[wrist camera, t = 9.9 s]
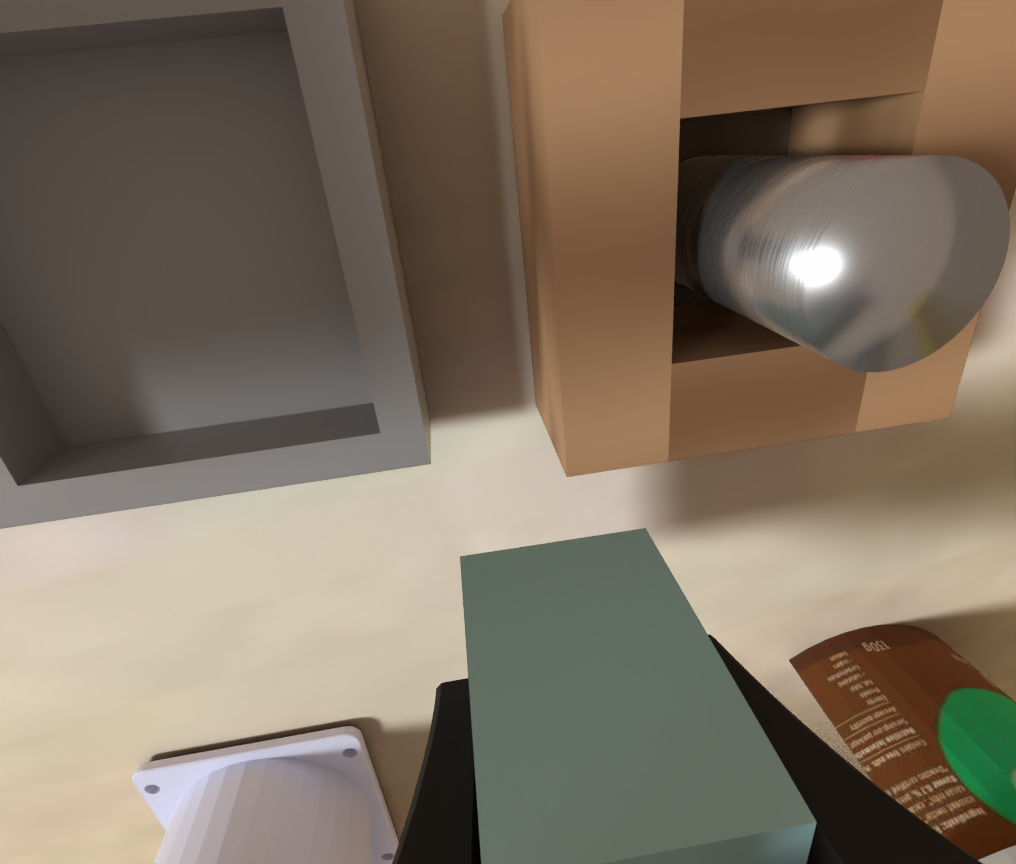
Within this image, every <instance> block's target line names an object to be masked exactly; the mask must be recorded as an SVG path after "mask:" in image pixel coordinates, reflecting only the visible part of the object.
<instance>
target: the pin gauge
mask: <svg viewBox="0 0 1016 864" xmlns="http://www.w3.org/2000/svg"><path fill="white" fill-rule="evenodd" d="M1009 229H1010V222H1009V211H1008V207H1007V203H1006V199H1005V197H1004V194H1003V192H1002V190H1001V188H1000V186H999V184H998V183H997V181H996V180H995V178H994V177H993V176H992V175H991V174H990V173H989V172H988V171H987V170H986V169H984V168H983V167H981V166H980V165H978V164H977V163H975V162H972V161H970V160H968V159H965V158H961V157H956V156H949V155H787V156H698V157H694V158H690V159H687V160H685V161H683V162H681V163H679V164H678V191H677V220H676V249H675V278H674V281H676V282H678V283H680V284H682V285H684V286H686V287H688V288H690V289H692V290H694V291H696V292H698V293H700V294H702V295H704V296H705V297H707V298H709V299H711V300H713V301H715V302H717V303H719V304H721V305H723V306H725V307H727V308H729V309H731V310H733V311H735V312H737V313H739V314H741V315H743V316H745V317H747V318H749V319H751V320H752V321H754V322H756V323H758V324H760V325H762V326H764V327H766V328H768V329H770V330H772V331H774V332H776V333H778V334H780V335H782V336H784V337H786V338H788V339H790V340H792V341H794V342H796V343H798V344H799V345H801V346H803V347H805V348H807V349H809V350H811V351H813V352H815V353H817V354H819V355H821V356H823V357H825V358H827V359H829V360H831V361H833V362H835V363H837V364H839V365H841V366H843V367H845V368H848V369H851V370H855V371H861V372H884V371H891V370H895V369H899V368H902V367H905V366H908V365H910V364H913V363H916V362H918V361H920V360H922V359H923V358H925V357H927V356H929V355H931V354H932V353H934V352H935V351H937V350H939V349H940V348H941V347H943V346H944V345H945V344H947V343H948V342H949V341H951V340H952V339H953V338H954V337H955V336H956V335H957V334H958V333H959V332H960V331H962V330H963V329H964V327H965V326H966V325H967V324H968V323H969V322H970V321H971V320H972V319H973V317H974V316H975V315H976V314H977V312H978V311H979V310H980V308H981V307H982V306H983V304H984V302H985V301H986V299H987V298H988V296H989V295H990V293H991V291H992V289H993V287H994V285H995V283H996V281H997V279H998V277H999V274H1000V272H1001V269H1002V267H1003V263H1004V260H1005V256H1006V253H1007V247H1008V242H1009Z"/></svg>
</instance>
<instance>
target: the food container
mask: <svg viewBox="0 0 1016 864" xmlns="http://www.w3.org/2000/svg"><path fill="white" fill-rule="evenodd" d="M789 661H790V663H791V664H792V666H793V667H794V669H795V670H796V672H797V673H798V674H799V676H800V677H801V679H802V680H803V682H804V683H805V685H806V686H807V688H808V689H809V690H810V692H811V693H812V695H813V696H814V698H815V699H816V701H817V702H818V704H819V705H820V706H821V708H822V709H823V711H824V712H825V714H826V715H827V717H828V718H829V720H830V721H831V722H832V724H833V725H834V727H835V728H836V730H837V731H838V733H839V734H840V736H841V737H842V738H843V740H844V741H845V743H846V744H847V746H848V747H849V749H850V750H851V752H852V753H853V754H854V756H855V757H856V759H857V760H858V762H859V763H860V765H861V766H862V768H863V769H864V770H865V772H866V773H867V775H868V776H869V778H870V779H871V781H872V782H873V783H874V784H875V785H877V786H878V787H879V788H880V789H882V790H883V791H884V792H886V793H887V794H888V795H889V796H891V797H892V798H893V799H895V800H896V801H897V802H898V803H900V804H901V805H902V806H904V807H905V808H906V809H908V810H909V811H910V812H912V813H913V814H914V815H916V816H917V817H918V818H920V819H921V820H922V821H924V822H925V823H926V824H928V825H929V826H930V827H932V828H933V829H935V830H936V831H937V832H939V833H940V834H942V835H943V836H944V837H946V838H947V839H949V840H950V841H951V842H953V843H954V844H956V845H957V846H958V847H960V848H961V849H963V850H964V851H965V852H967V853H968V854H970V855H971V856H973V857H974V858H975V859H977V860H978V861H980V862H981V863H983V864H1016V702H1015V701H1013V700H1012V699H1011V698H1010V697H1009V696H1007V695H1006V694H1005V693H1004V692H1003V691H1001V690H1000V689H999V688H998V687H997V686H996V685H994V684H993V683H992V682H991V681H990V680H988V679H987V678H986V677H985V676H984V675H982V674H981V673H980V672H979V671H978V670H976V669H975V668H974V667H973V666H972V665H970V664H969V663H968V662H967V661H966V660H964V659H963V658H962V657H961V656H960V655H958V654H957V653H956V652H955V651H954V650H952V649H951V648H950V647H949V646H948V645H946V644H945V643H944V642H943V641H942V640H940V639H939V638H938V637H937V636H936V635H934V634H932V633H930V632H928V631H926V630H923V629H920V628H916V627H913V626H905V625H879V626H873V627H866V628H861V629H857V630H854V631H850V632H846V633H843V634H840V635H838V636H835V637H832V638H830V639H827V640H825V641H823V642H821V643H818V644H816V645H814V646H812V647H810V648H808V649H806V650H805V651H803V652H802V653H800V654H798V655H797V656H795V657H793V658H792V659H790V660H789Z"/></svg>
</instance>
